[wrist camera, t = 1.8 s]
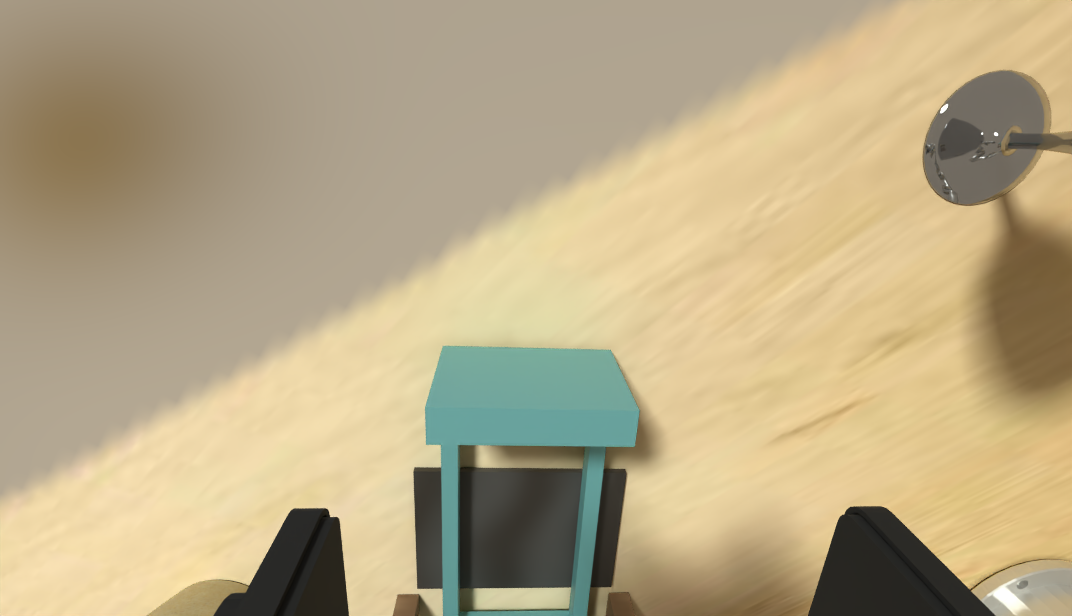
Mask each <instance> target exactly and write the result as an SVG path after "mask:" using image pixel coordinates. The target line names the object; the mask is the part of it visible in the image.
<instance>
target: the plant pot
mask: <svg viewBox="0 0 1072 616" xmlns="http://www.w3.org/2000/svg"><path fill="white" fill-rule="evenodd" d="M247 589H248V586H246V585H243V584H240V583H237V582H232V581H227V580H208V581H203V582H198V583H195V584H193V585H191V586H189V587H187V588H185V589H184V590H182V591H181V592H179V593H178V594H176V595H175V596H174V597H172V598H171V599H169V600H168V601H166V602H165V603H164V604H162V605H161V606H159V607H158V608H157V609H155V610H154V611H152V612H151V613H150V614H148V615H147V616H213V615H214V614H215V612H216V610H217V609H218V607H219V606H220V604H221V603H222V602H223V600H224V599H225V598H226V597H227V596H229V595H230V594H232V593H246V591H247Z"/></svg>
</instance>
